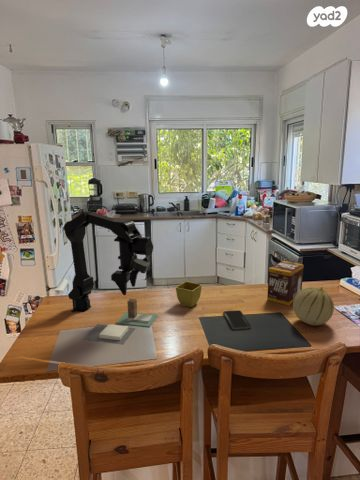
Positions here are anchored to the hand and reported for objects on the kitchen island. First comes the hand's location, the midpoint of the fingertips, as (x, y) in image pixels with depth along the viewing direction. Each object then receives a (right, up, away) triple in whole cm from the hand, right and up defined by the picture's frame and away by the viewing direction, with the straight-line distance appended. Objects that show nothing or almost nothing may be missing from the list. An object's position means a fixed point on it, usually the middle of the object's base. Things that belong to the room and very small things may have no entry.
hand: (129, 290), depth 134 cm
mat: (-6, -15, -9) cm, 19 cm away
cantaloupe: (+72, -13, -2) cm, 73 cm away
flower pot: (+24, -9, +17) cm, 31 cm away
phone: (+43, -13, +2) cm, 45 cm away
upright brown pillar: (+4, -12, +2) cm, 12 cm away
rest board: (+3, -13, +2) cm, 13 cm away
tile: (-8, -14, -8) cm, 18 cm away
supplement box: (+69, -7, +23) cm, 73 cm away
